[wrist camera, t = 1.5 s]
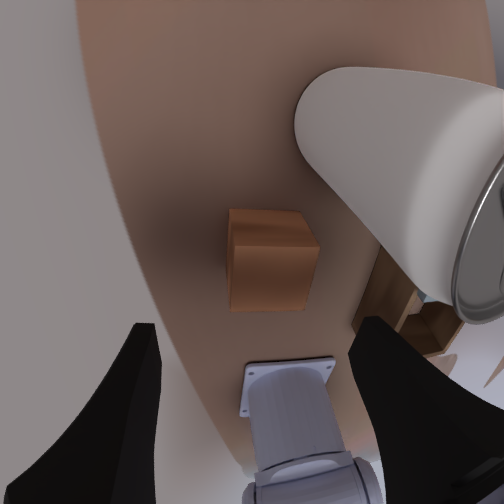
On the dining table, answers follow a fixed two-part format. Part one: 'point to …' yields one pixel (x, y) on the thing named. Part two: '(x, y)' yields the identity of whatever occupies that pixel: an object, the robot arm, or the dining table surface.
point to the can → (417, 174)
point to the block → (269, 260)
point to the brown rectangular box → (407, 309)
